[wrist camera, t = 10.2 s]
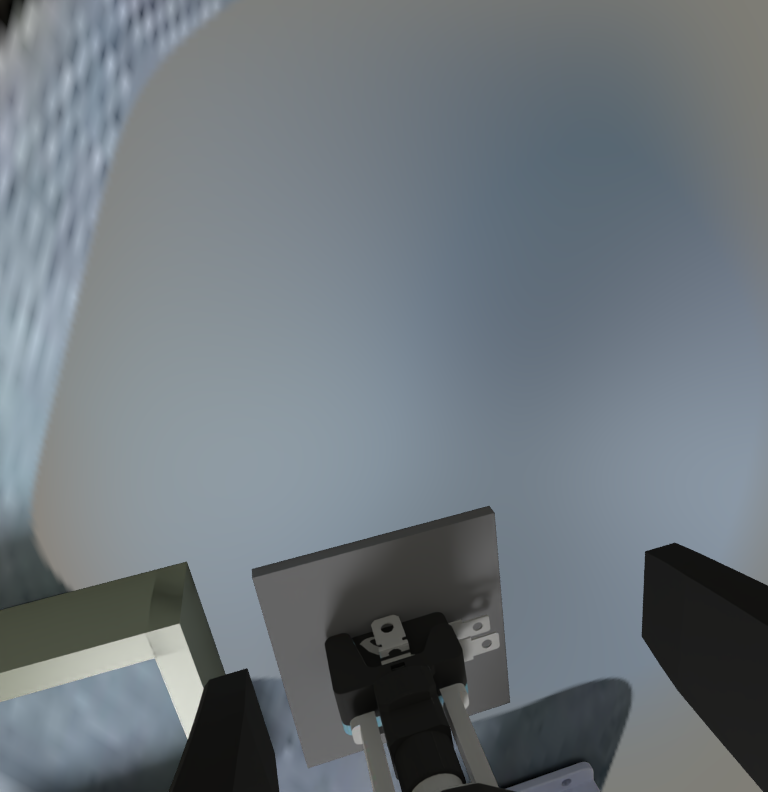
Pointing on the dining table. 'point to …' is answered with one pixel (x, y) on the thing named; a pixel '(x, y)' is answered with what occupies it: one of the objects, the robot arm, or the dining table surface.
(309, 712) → the mat
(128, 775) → the dining table surface
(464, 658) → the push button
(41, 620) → the equipment case
